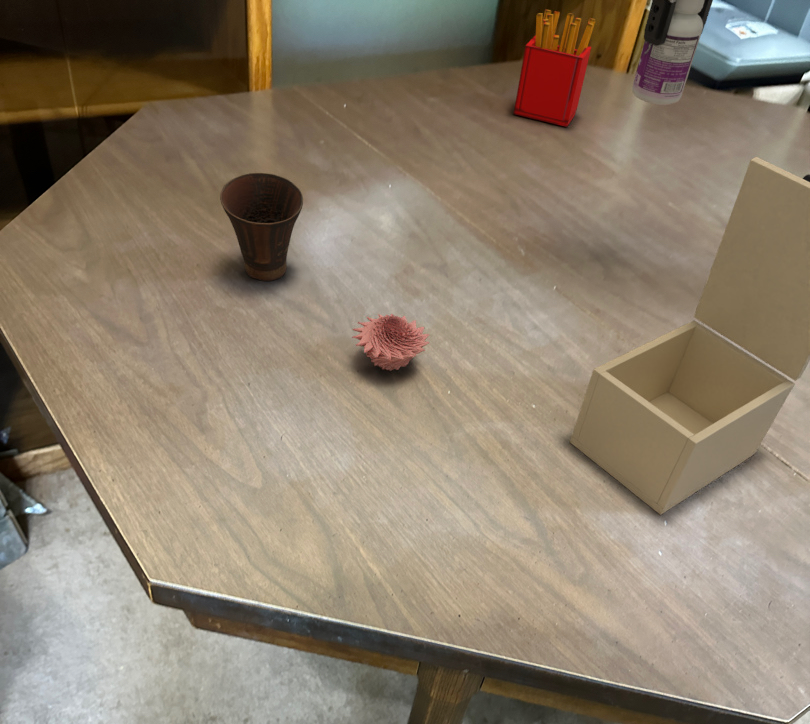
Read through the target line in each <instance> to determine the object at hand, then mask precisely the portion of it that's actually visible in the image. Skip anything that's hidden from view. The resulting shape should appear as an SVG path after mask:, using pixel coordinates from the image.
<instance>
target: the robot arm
mask: <svg viewBox="0 0 810 724" xmlns="http://www.w3.org/2000/svg"><path fill="white" fill-rule="evenodd" d="M713 1H714V0H705V1H704V4H703V8H702V9H701V11H700V12H699V13H698V15H699V16H700V17H701V19H702V22H703V30H702V33H701V35H702V34H703V32H704V28H705V26H706V23H707V21H708V17H709V14H710V11H711V8H712V5H713ZM675 6H676V2H675V0H651V5H650V8H649V12H648V15H647V20H646V23H645V27H644V34H643V40H644V41H646V42H648V43H651V44H653V45H655V46H658V45H662V44H664V43H665V40H666V37H667V33H668V30H669V26H670V23H671V19H672V16H673V13H674V9H675Z"/></svg>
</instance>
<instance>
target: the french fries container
mask: <svg viewBox="0 0 810 724" xmlns="http://www.w3.org/2000/svg"><path fill="white" fill-rule="evenodd" d="M560 15H561V12H560V11H556V10H555V11H553V13H552V10H551V9H544V12H542V13H541V12H538V13H536V15H535V16H536V19H535V22H536V24H535V35H534V36H533V37H532V38H531V39H530V40H529V42H527V43H526V44H525V45H524V46H525V47H524V51H523V59H522V63H521V69H520V75H519V80H518V85H517V92H516V98H515V104H514V108H513V115H516V116H521V117H524V118H529V119H533V120H535V121H541V122H546V123H548V124H552V125H557V126H562V127H566V128H567V127H568V126H569V125H570V123H571V122H572V120H573V119H574V118H575V116H576V113H577V110H578V108H579V107H578V106H579V102H580V98H581V94H582V90H583V85H584V81H585V76H586V72H587V68H588V64H589V59H590V55H591V51H592V46H590V45H589V43H590V40H591V37H592V34H593V31H594V28H595V24H596V21H597V20H596V19H595V18H591V17H589V18H588V20H587V21H588V22H587V24H586V27H585V29H584V32H583V34H582V37H581V40H580V43H579V44H578V47H577V48H576V45H577V40H578V36H579V31H580V26H581V22H582V17H576V18H574V16H575V14H574V13H571V12H567V15H566V19H565V23H564V27H563V31H562V35H561V41H560V44H559V40H560V35H559V34H556V31H557V27H558V23H559V18H560ZM573 21H574V22H573Z"/></svg>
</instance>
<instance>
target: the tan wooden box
mask: <svg viewBox="0 0 810 724" xmlns="http://www.w3.org/2000/svg"><path fill="white" fill-rule="evenodd" d="M795 385H796V384H795V382H793V381H792V380H790V379H789V378H787V376H784V374H783V375H782V373H779V372H778V371H776V370H775V369H773V368H771V367H770V366H768V364H766V363H764V362H762V361H760V359H757V358H755V357H754V356H753V355H750V354H749V352H748V353H747V351H744V350H743V349H742V348H741V347H740V348H739V347H738V346H736V345H735V344H733V342H730V341H728V340H727V339H725V337H722V336H720V335H719V334H717V332H714V330H711V329H709V328H708V327H706V325H704V324H702V323H701V322H699V321H696V320H692V321H690V322H687V323H686V324H684V325H682V326H679V327H677V328H675V329H673V330H671V331H669V332H667V333H665V334H663V335H661V336H659V337H657V338H655V339H652V340H650V341H649V342H647V343H645V344H642V345H640V346H638V347H636V348H634V349H632V350H630V351H628V352H626V353H623V354H621V355H619V356H617V357H616V358H614V359H611V360H609V361H608V362H605V363H603V364H601V365H599V366H597V367H594V368H593V369H592V373H591V376H590V379H589V381H588V384H587V388H586V390H585V394H584V397H583V400H582V403H581V406H580V409H579V412H578V416H577V418H576V422H575V424H574V428H573V430H572V434H571V437H570V439H569V443H571V445H573V446H574V447H575V448H576V449H577V450H578V451H580V452H581V453H582V454H584V455H585V456H587V458H589V459H590V460H591V461H593V462H594V463H595V464H597V466H598V467H600V468H601V469H602V470H603V471H605V472H606V473H608V474H609V475H610V476H611V477H613V478H614V479H615V480H616V481H617V482H619V483H620V484H621V485H623V486H624V487H625V488H626V489H627V490H629V491H630V492H631V493H633V494H634V495H635V496H637V498H639V499H640V500H641V501H643V503H645V504H647V506H649V507H650V508H651V509H652V510H654V511H655V512H656V513H657V514H659V515H660V516H662V515H663V514H664V513H666V512H667V511H669V510H670V509H672V508H674V507H676V506H677V505H679V504H680V503H681V502H683V501H685V500H686V499H687V498H689V497H690V496H692V495H693V494H695V493H697V492H698V491H700V490H702V489H703V488H705V487H706V486H708V485H709V484H711V483H712V482H714V481H716V480H717V479H719V478H720V477H721V476H723V475H725V474H726V473H727V472H730V471H731V470H732V469H734V468H735V467H738V466H739V465H740V464H742V463H743V462H745V461H746V460H748V459H749V458H751V457H752V456H754V455H755V454H756V452H757V450H758V449H759V447H760V445H761V443H762V441H763V440H764V438H765V437H766V435H767V433H768V431H769V430H770V428H771V426H772V425H773V423H774V421H775V419H776V418H777V416H778V415H779V413H780V411H781V409H782V408H783V406H784V404H785V403H786V401H787V399H788V397H789V395H790V393H791V392H792V390H793V388H794V387H795Z"/></svg>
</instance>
